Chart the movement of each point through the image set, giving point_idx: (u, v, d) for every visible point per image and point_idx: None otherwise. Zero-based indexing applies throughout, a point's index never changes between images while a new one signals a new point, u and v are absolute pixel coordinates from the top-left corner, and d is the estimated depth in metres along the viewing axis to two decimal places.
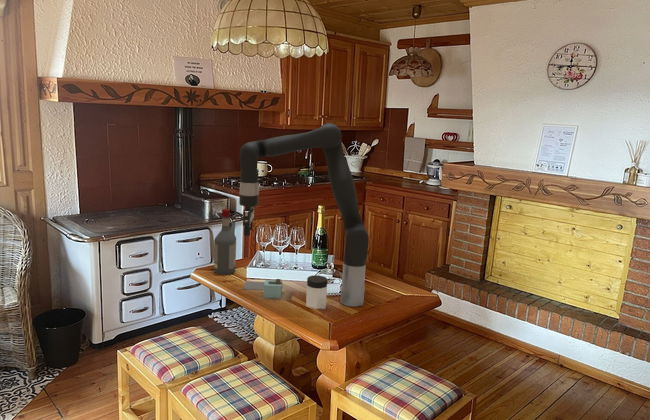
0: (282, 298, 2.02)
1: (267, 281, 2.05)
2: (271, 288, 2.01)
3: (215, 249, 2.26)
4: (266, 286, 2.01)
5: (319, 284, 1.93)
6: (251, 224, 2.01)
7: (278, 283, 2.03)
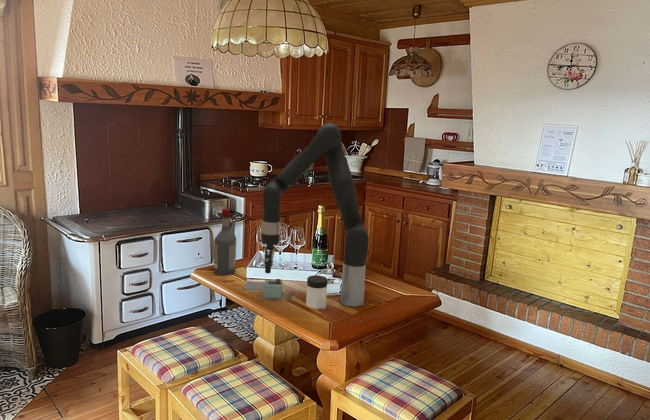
0: (282, 298, 2.02)
1: (267, 281, 2.05)
2: (271, 288, 2.01)
3: (215, 249, 2.26)
4: (266, 286, 2.01)
5: (319, 284, 1.93)
6: (271, 260, 2.06)
7: (278, 283, 2.03)
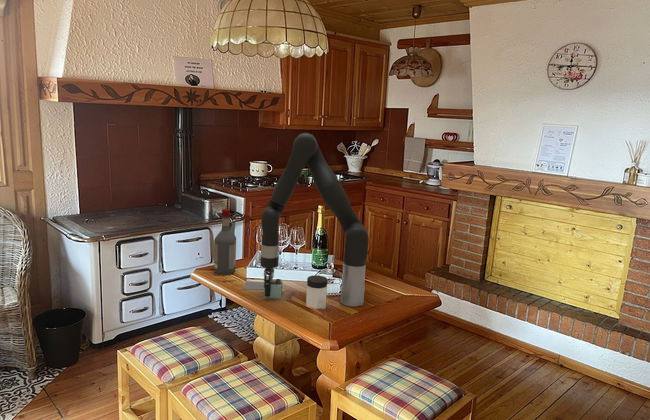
0: (282, 298, 2.02)
1: None
2: (271, 288, 2.01)
3: (215, 249, 2.26)
4: None
5: (319, 284, 1.93)
6: None
7: (278, 283, 2.03)
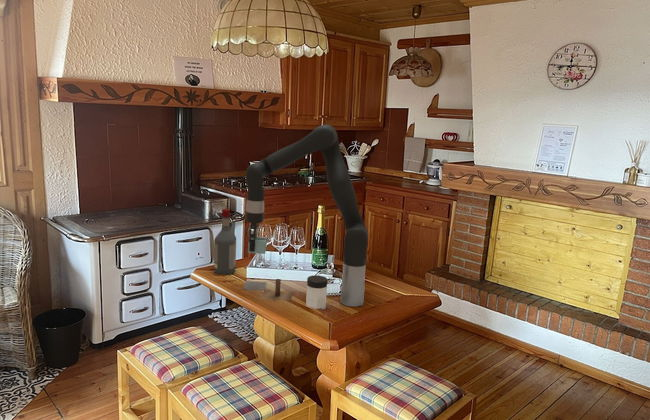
0: (282, 298, 2.02)
1: None
2: (256, 243, 2.04)
3: (215, 249, 2.26)
4: None
5: (319, 284, 1.93)
6: None
7: (278, 283, 2.03)
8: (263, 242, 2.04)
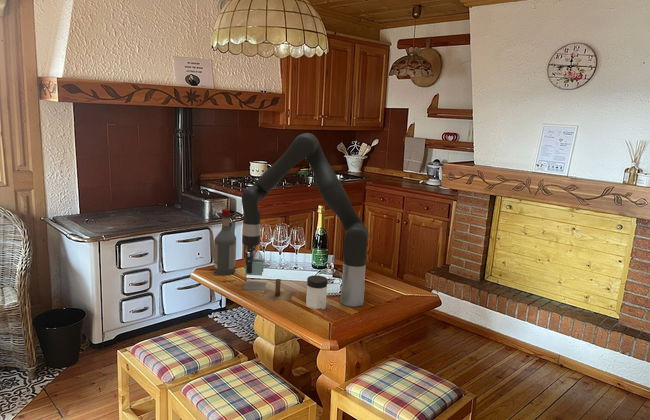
0: (282, 298, 2.02)
1: None
2: (252, 265, 2.09)
3: (215, 249, 2.26)
4: None
5: (319, 284, 1.93)
6: None
7: (278, 283, 2.03)
8: (260, 264, 2.09)
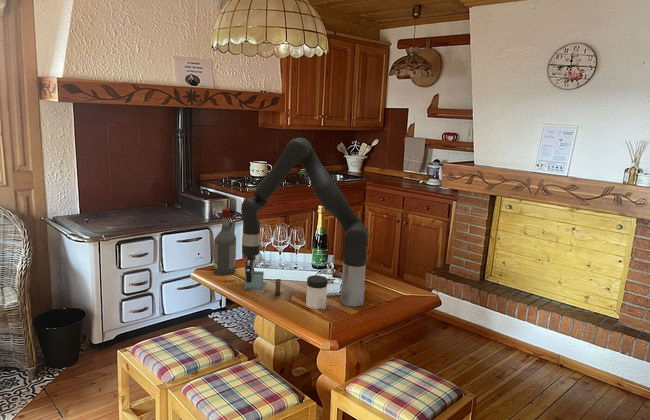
0: (282, 298, 2.02)
1: None
2: (252, 278, 2.10)
3: (215, 249, 2.26)
4: None
5: (319, 284, 1.93)
6: (253, 270, 2.16)
7: (278, 283, 2.03)
8: (259, 277, 2.10)
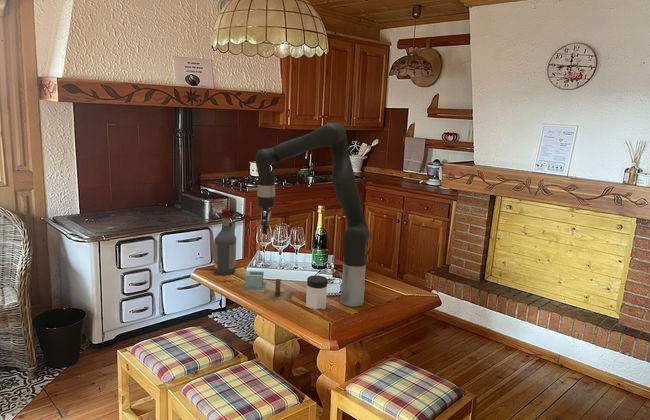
0: (282, 298, 2.02)
1: (249, 272, 2.14)
2: (252, 278, 2.10)
3: (215, 249, 2.26)
4: (247, 276, 2.10)
5: (319, 284, 1.93)
6: (267, 223, 2.18)
7: (278, 283, 2.03)
8: (259, 277, 2.10)
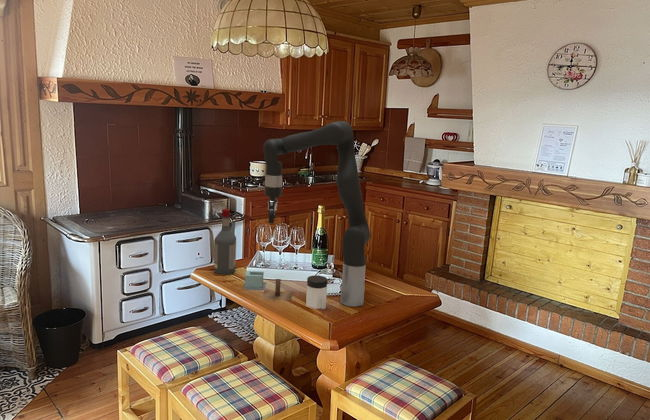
0: (282, 298, 2.02)
1: (249, 272, 2.14)
2: (252, 278, 2.10)
3: (215, 249, 2.26)
4: (247, 276, 2.10)
5: (319, 284, 1.93)
6: (274, 213, 2.21)
7: (278, 283, 2.03)
8: (259, 277, 2.10)
